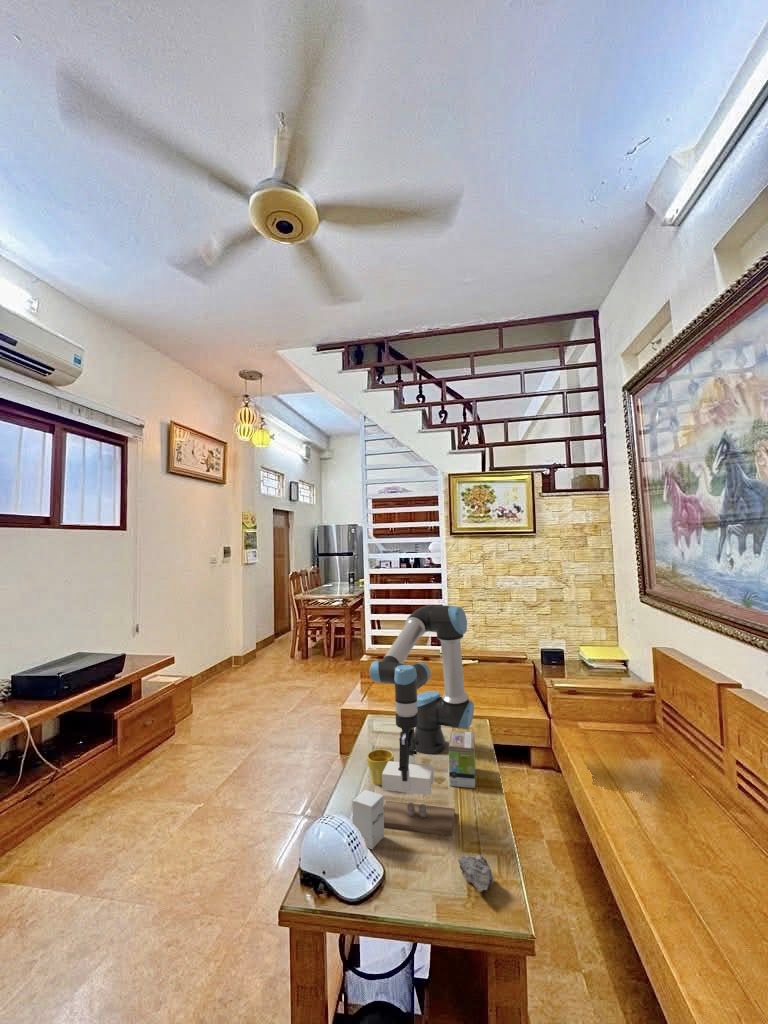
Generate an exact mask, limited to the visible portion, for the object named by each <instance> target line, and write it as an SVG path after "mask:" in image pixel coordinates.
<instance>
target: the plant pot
mask: <svg viewBox="0 0 768 1024" xmlns="http://www.w3.org/2000/svg"><path fill="white" fill-rule="evenodd" d="M394 760H395V759H394V753H393V752H392V751H391V750H388V749H383V748H379V749H373V750H371V751H369V752H368V753H367V755H366V761H367V763H366V765H367V767H368V768H369V772H370V776H371V780H372V783H373V784H374V785H376V786H382V773H383V771H384V769H385V767H386V765H387V763H388V761H393V762H395V761H394Z"/></svg>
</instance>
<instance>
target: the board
mask: <svg viewBox="0 0 768 1024" xmlns="http://www.w3.org/2000/svg"><path fill="white" fill-rule="evenodd" d="M383 805H384V828H388V829H396V830H404V831H410V832H419V833H426V834H434V835H441V836H450V837H452V835H453V830H454V829H453V828H454V822H455V815H456V808H454V807H453V808H452V807H444V806H436V805H429V804H425V803H420V804H419V803H413V802H403V801H402V802H401V801H394V800H386V801H385V802H384V804H383Z"/></svg>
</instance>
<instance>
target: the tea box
mask: <svg viewBox="0 0 768 1024" xmlns="http://www.w3.org/2000/svg"><path fill="white" fill-rule="evenodd" d="M475 740H476V739H475V732H473V731H457V730H450V733H449V742H448V775H449V776H448V777H449V779H448V781H449V782H448V783H449V784H448V785H449V786H451V787H456V788H457V787H458V788H459V787H461V788H470V789H472V788H473V789H475V788H476V746H475V745H476V741H475Z"/></svg>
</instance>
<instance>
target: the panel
mask: <svg viewBox="0 0 768 1024" xmlns="http://www.w3.org/2000/svg"><path fill="white" fill-rule="evenodd" d="M434 766H435V765H433V764H424V763H423V764H422V763H415V764H414V763H409V773H410V791H405V790H401V771H399V770H398V768H399V761H394V762H393V761H388V763H387V765H386V767H385V769H384V771H383V773H382V785H381V790H383V791H391V792H400V793H408V794H416V795H426V796H431V795H432V785H434V782H435V770H434V769H435V768H434Z"/></svg>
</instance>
